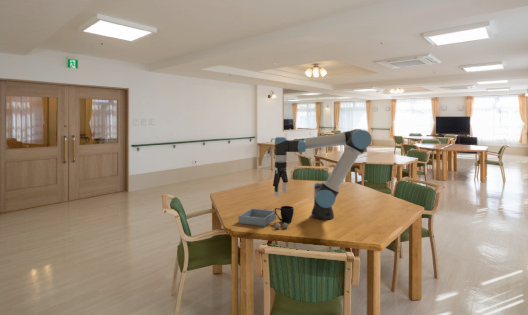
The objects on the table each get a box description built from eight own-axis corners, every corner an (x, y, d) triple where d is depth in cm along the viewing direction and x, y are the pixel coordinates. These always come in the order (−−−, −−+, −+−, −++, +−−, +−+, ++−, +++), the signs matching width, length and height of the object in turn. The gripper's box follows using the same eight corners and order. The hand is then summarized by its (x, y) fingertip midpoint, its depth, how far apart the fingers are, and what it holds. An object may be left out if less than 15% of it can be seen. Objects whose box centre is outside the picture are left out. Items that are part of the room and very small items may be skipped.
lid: (271, 210, 235) (271, 207, 235) (269, 216, 222) (269, 212, 221) (258, 210, 237) (258, 207, 236) (254, 215, 223) (254, 212, 223)
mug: (274, 219, 213) (274, 205, 212) (293, 220, 212) (293, 205, 211) (274, 223, 205) (274, 208, 204) (293, 224, 204) (293, 209, 203)
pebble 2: (288, 227, 196) (288, 222, 196) (286, 229, 194) (287, 224, 193) (283, 227, 198) (283, 222, 197) (281, 228, 195) (281, 223, 194)
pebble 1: (281, 228, 196) (281, 222, 195) (279, 229, 193) (279, 224, 192) (275, 227, 197) (275, 221, 197) (273, 229, 194) (273, 223, 194)
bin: (276, 218, 216) (276, 211, 215) (264, 227, 198) (264, 219, 197) (251, 215, 222) (251, 208, 222) (238, 223, 204) (238, 215, 204)
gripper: (282, 159, 220) (282, 190, 222) (267, 163, 197) (267, 197, 199) (292, 159, 216) (292, 191, 219) (279, 163, 194) (279, 199, 196)
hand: (280, 194), depth 209 cm, fingers open, 13 cm apart
